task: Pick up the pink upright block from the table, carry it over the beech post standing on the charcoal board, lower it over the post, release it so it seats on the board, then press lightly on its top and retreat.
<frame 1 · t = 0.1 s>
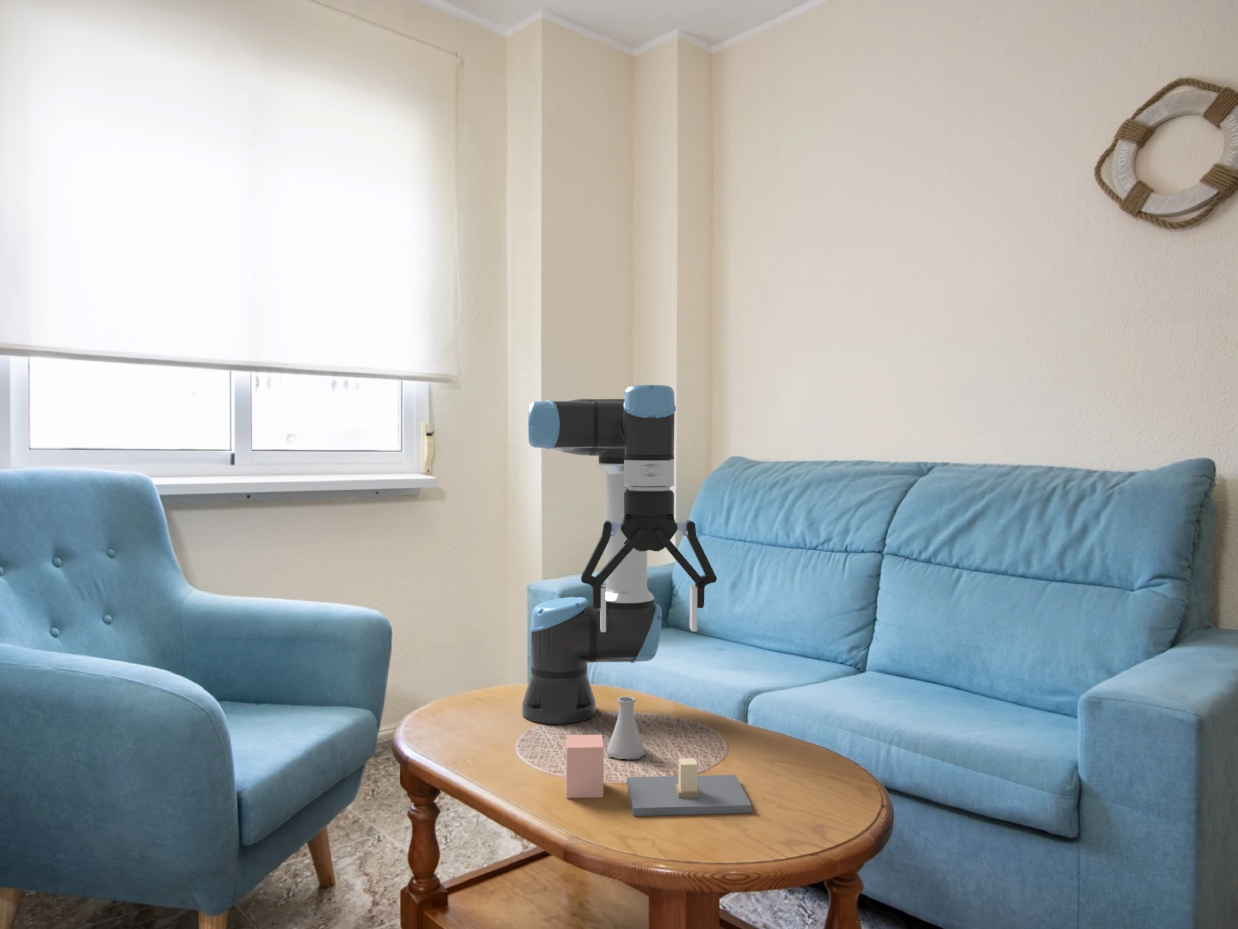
hand: (648, 630, 131), 28 cm above the table, fingers open, 13 cm apart
post board: (686, 798, 137), on the table
pink upright block: (584, 790, 140), on the table
flask: (626, 755, 157), on the table
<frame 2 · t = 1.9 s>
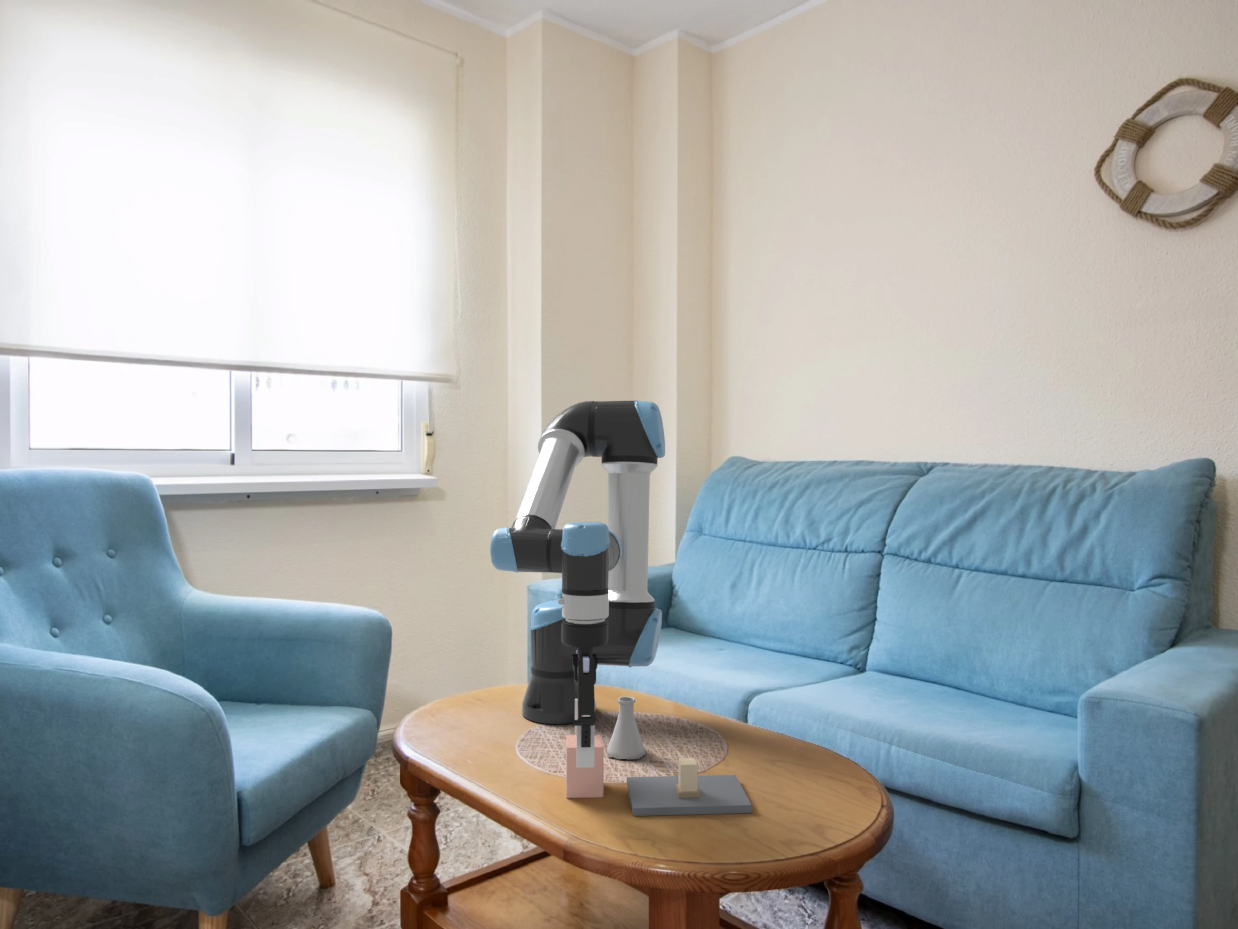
hand: (583, 751, 140), 6 cm above the table, fingers open, 13 cm apart
nothing on the table moved.
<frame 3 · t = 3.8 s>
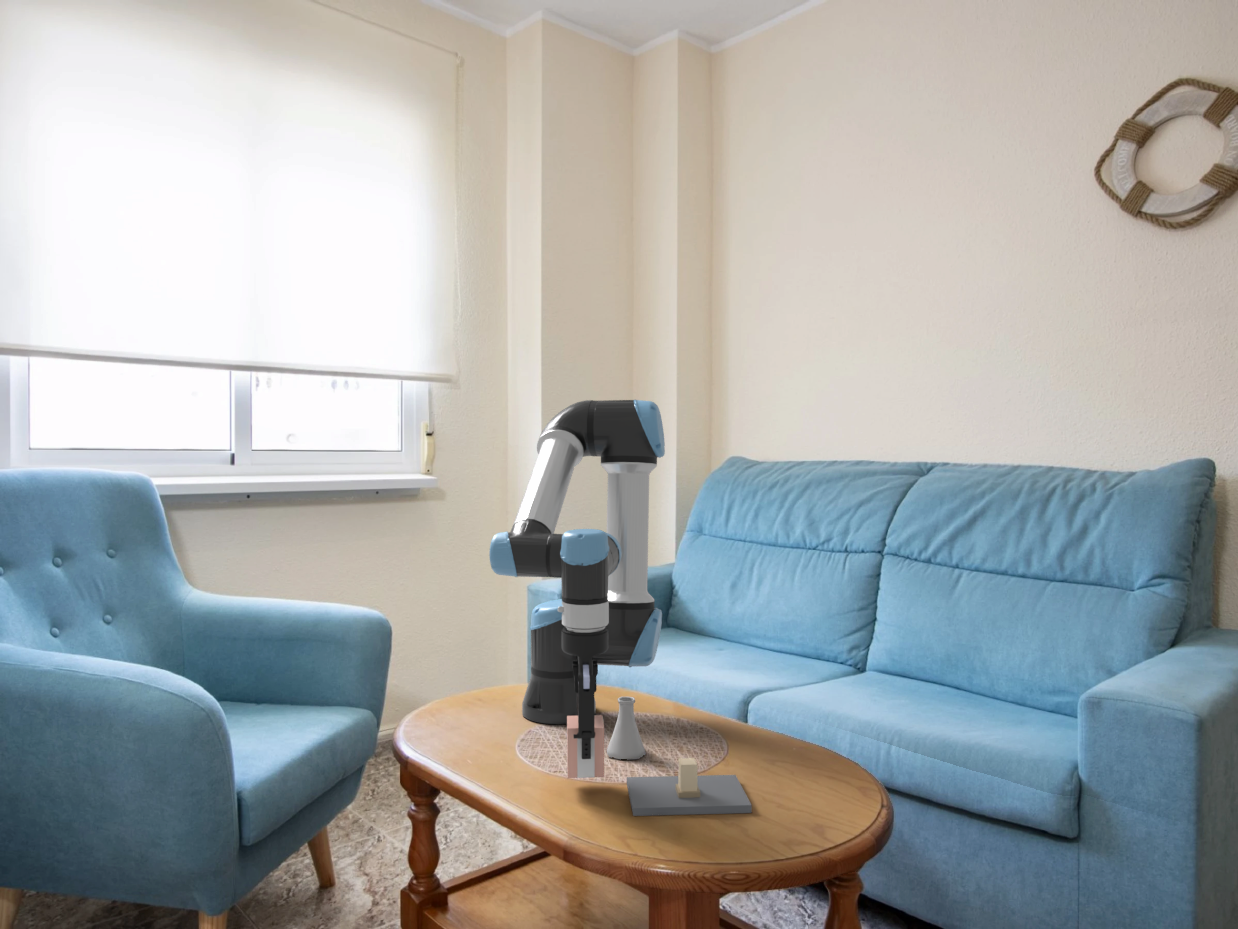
hand: (585, 768, 141), 3 cm above the table, fingers closed on pink upright block, 6 cm apart
pink upright block: (585, 770, 141), point 3 cm above the table, touching gripper
everything else where it was.
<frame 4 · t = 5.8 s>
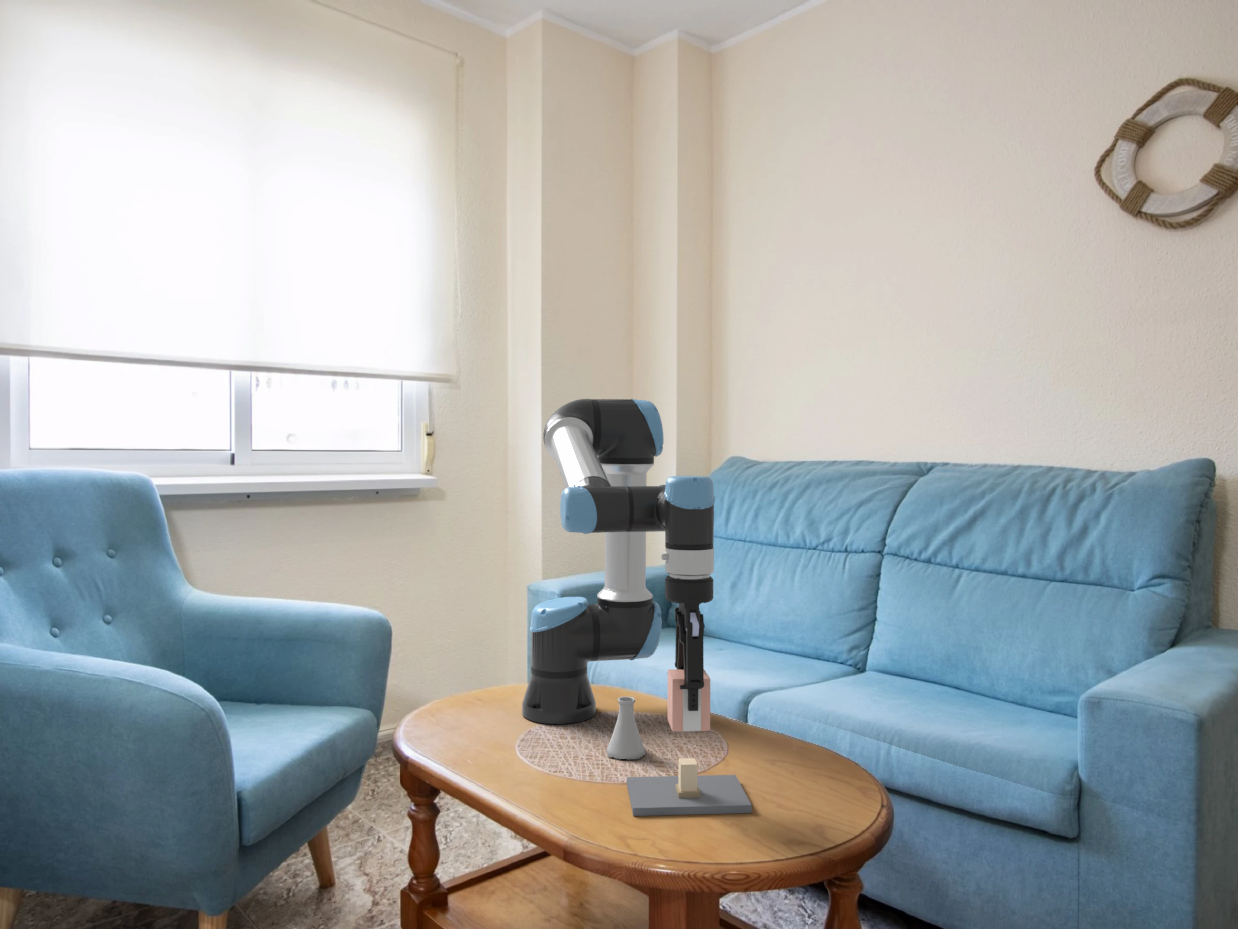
hand: (688, 723, 136), 12 cm above the table, fingers closed on pink upright block, 6 cm apart
pink upright block: (688, 725, 136), point 12 cm above the table, touching gripper
everything else where it was.
when the fingers open (3 cm above the table, at t = 7.6 s): pink upright block drops 1 cm, resting on post board.
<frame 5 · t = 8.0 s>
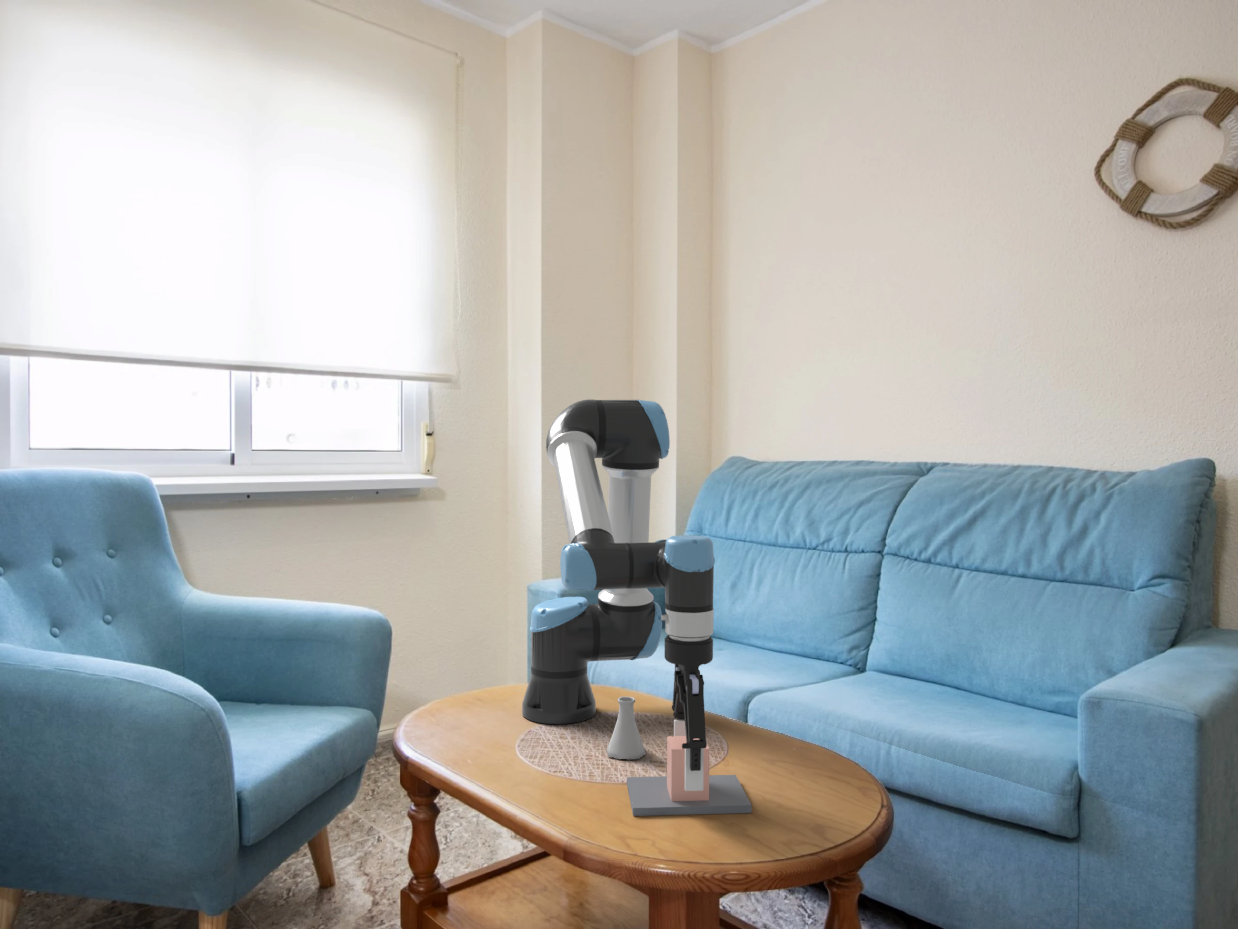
hand: (687, 774, 136), 4 cm above the table, fingers open, 11 cm apart
pink upright block: (687, 793, 136), point 1 cm above the table, touching post board
everything else where it was.
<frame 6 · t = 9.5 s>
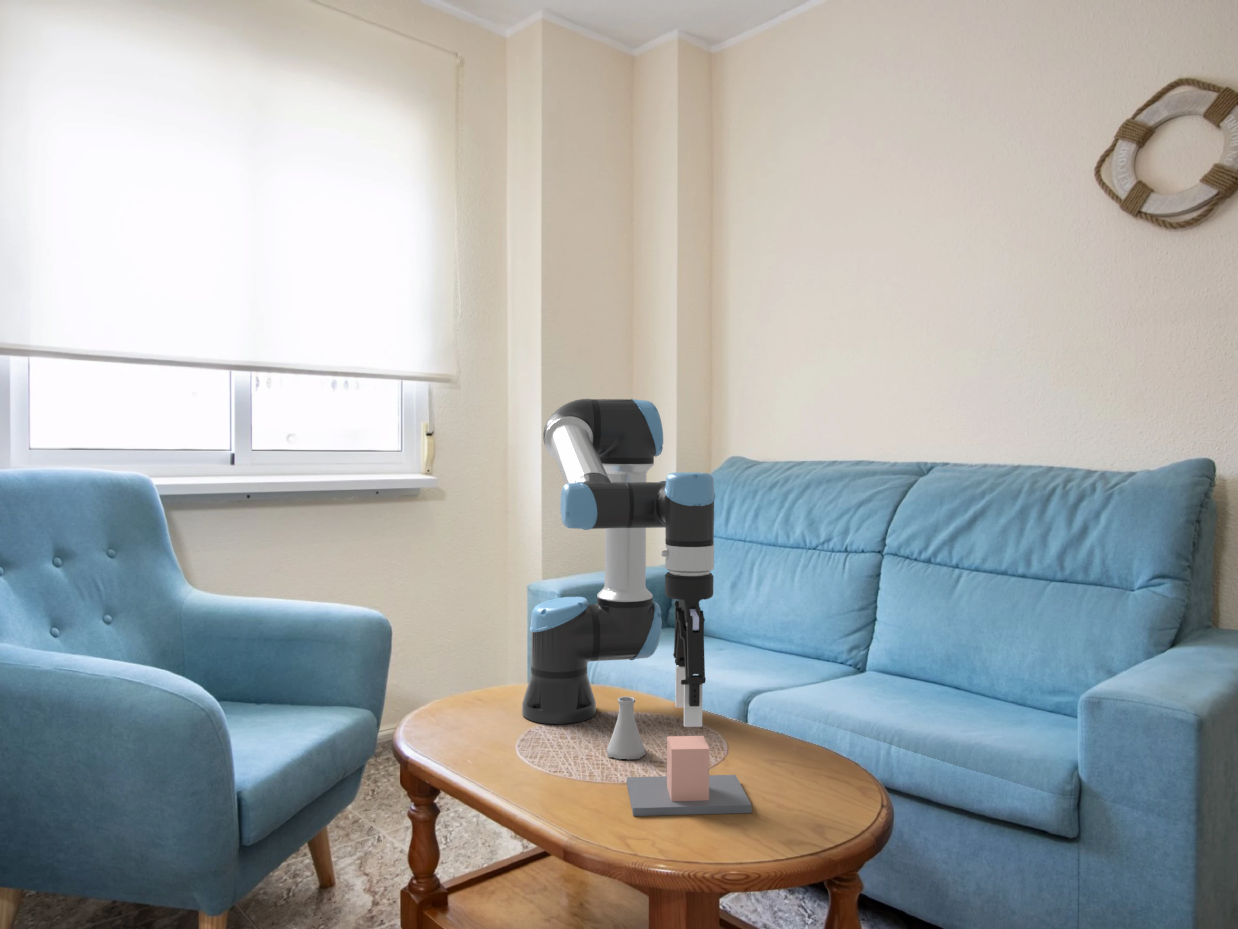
hand: (688, 716, 136), 13 cm above the table, fingers open, 9 cm apart
nothing on the table moved.
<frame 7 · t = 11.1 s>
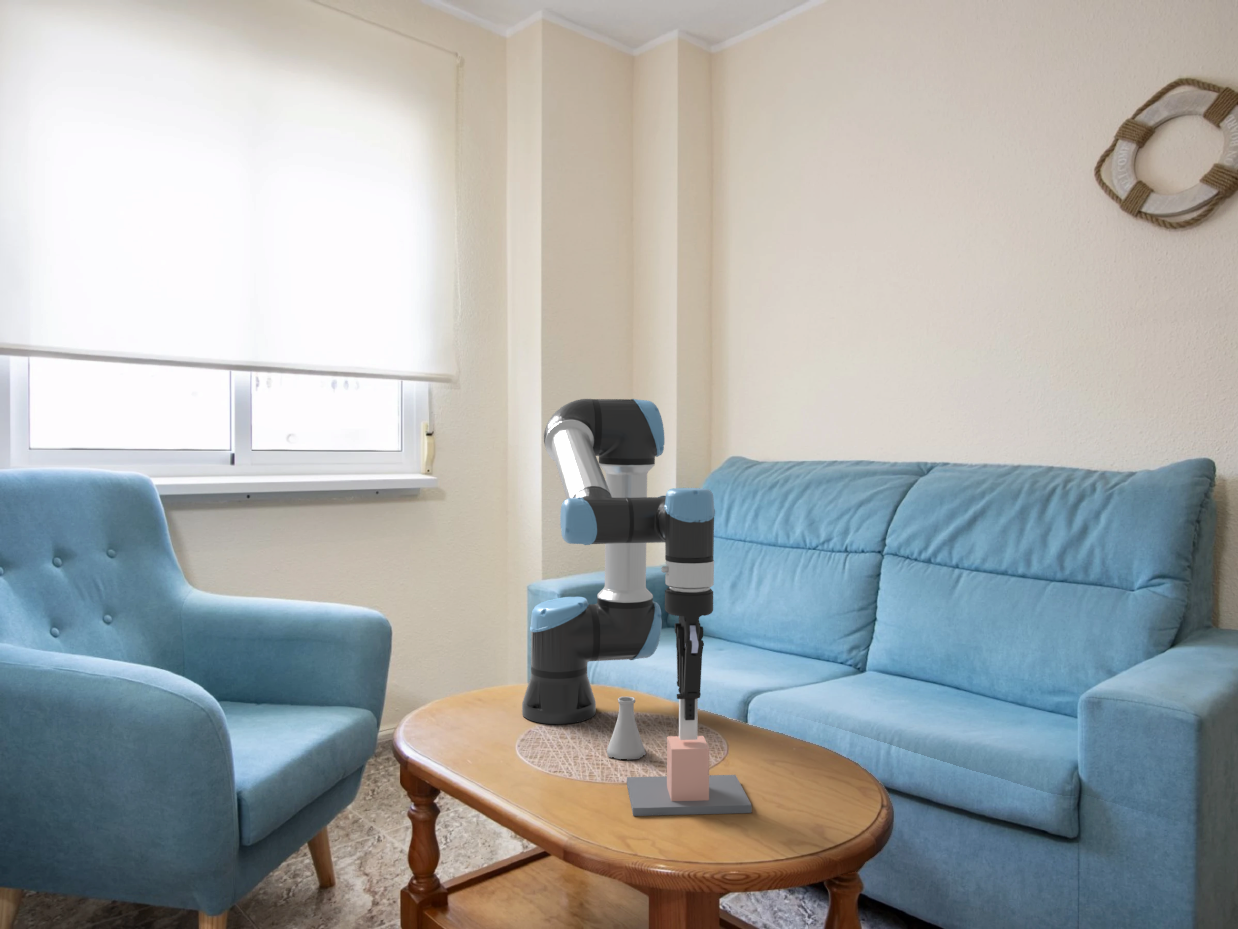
hand: (688, 738, 136), 10 cm above the table, fingers closed
nothing on the table moved.
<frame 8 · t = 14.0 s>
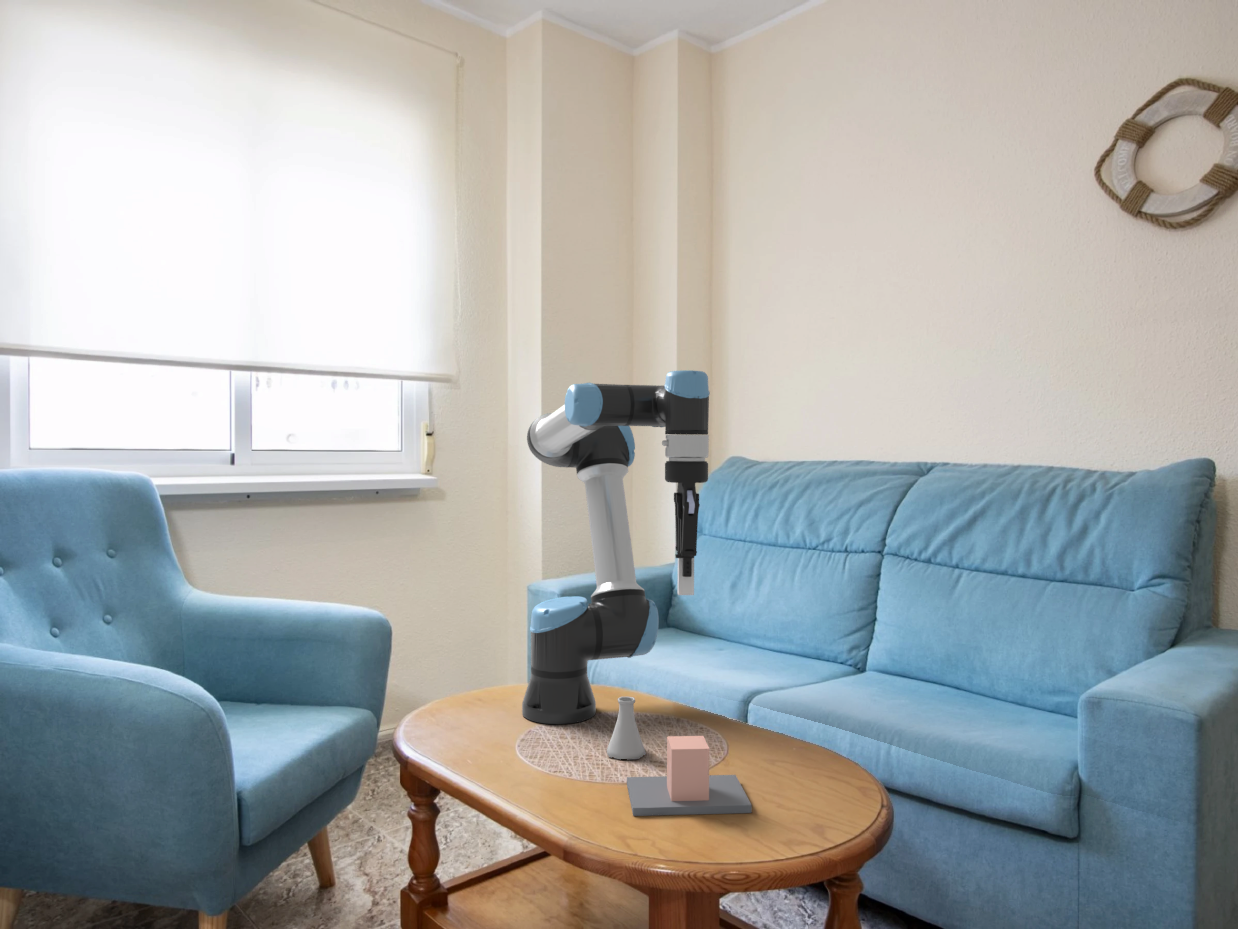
hand: (685, 594, 153), 29 cm above the table, fingers closed
nothing on the table moved.
at the end: pink upright block 0.0 cm from the target spot on the post board, point 1.2 cm above the post board's base; pink upright block tilted 0°; the gripper is holding nothing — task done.
